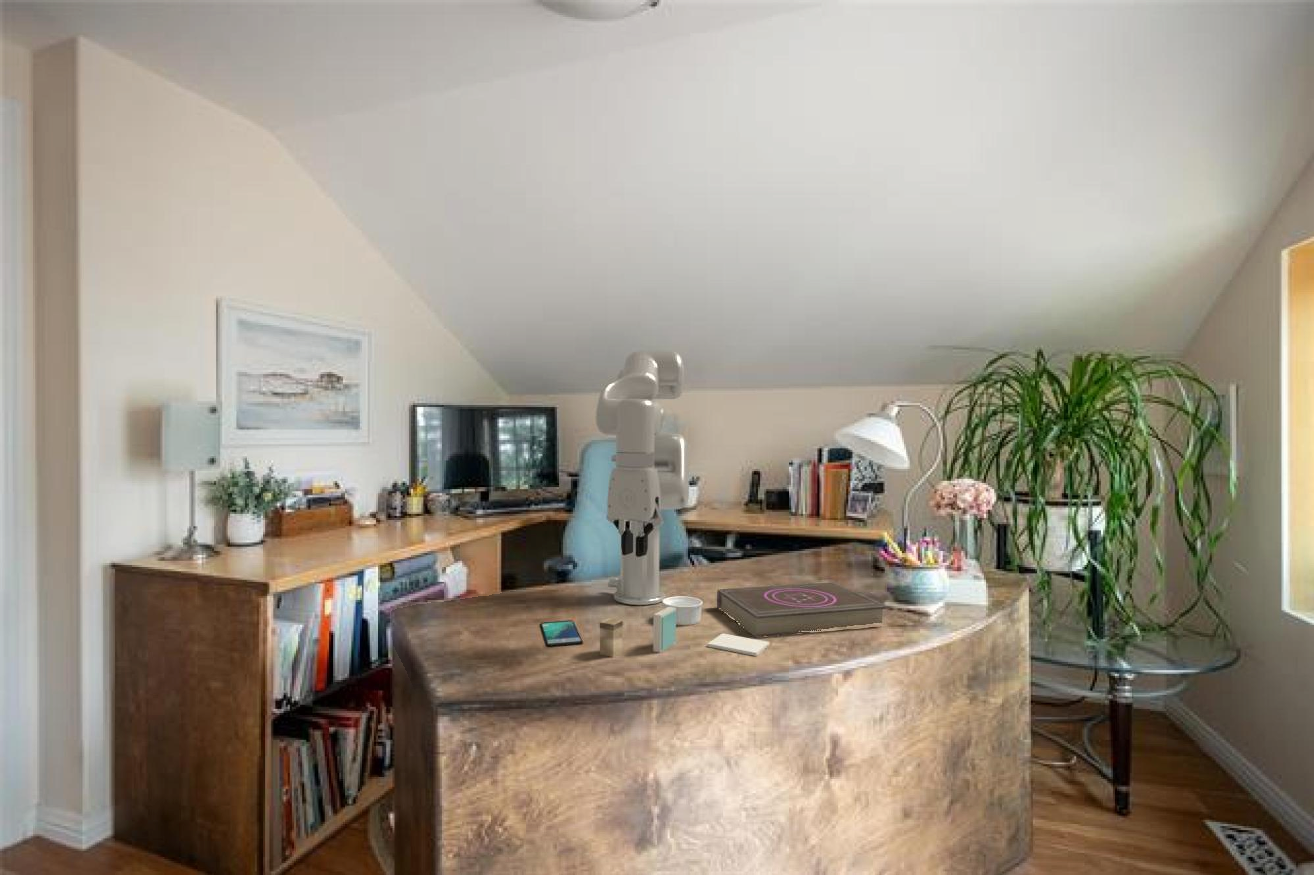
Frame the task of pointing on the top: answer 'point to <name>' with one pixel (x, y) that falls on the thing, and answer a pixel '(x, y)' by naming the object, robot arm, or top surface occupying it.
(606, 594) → the top surface
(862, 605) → the book
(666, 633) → the tile
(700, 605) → the ramekin
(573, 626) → the smartphone
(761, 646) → the mat
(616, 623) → the small cardboard box
